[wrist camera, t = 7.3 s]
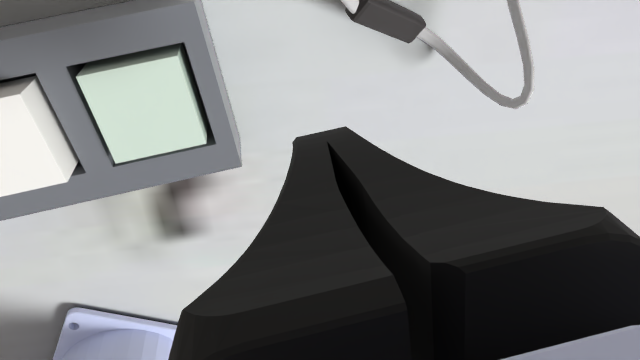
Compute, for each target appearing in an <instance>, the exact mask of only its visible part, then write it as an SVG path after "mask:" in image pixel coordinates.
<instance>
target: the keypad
mask: <svg viewBox="0 0 640 360" xmlns="http://www.w3.org/2000/svg"><path fill="white" fill-rule="evenodd" d="M177 43H182V44H183V48H184V51H185V54H186V57H187V60H188V63H189V66H190V70H191V73H192V76H193V79H194V82H195V85H196V88H197V92H198V95H199V98H200V101H201V104H202V107H203V110H204V114H205V117H206V120H207V123H208V127H207V142H206V144H203V145H198V146H193V147H189V148H184V149H180V150H175V151H171V152H166V153H162V154H157V155H153V156H148V157H144V158H139V159H135V160H130V161H126V162H121V163H115V161H114V159H113V157H112V155H111V152H110V150H109V148H108V146H107V144H106V142H105V139H104V137H103V135H102V133H101V131H100V129H99V126H98V124H97V122H96V120H95V118H94V115H93V113H92V111H91V109H90V107H89V105H88V102H87V100H86V98H85V96H84V94H83V92H82V89H81V87H80V85H79V83H78V81H77V78H76V76H77V75H78V73H79V72H80V71H81V70H82V68H83V67H84V66H85V65H86V63H87V62H90V61H95V60H100V59H105V58H110V57H114V56H119V55H124V54H129V53H134V52H139V51H143V50H148V49H153V48H158V47H163V46H168V45H172V44H177ZM33 76H37V77H38V79H39V81H40V83H41V85H42V87H43V89H44V91H45V93H46V95H47V97H48V99H49V101H50V103H51V105H52V107H53V108H54V110H55V112H56V114H57V116H58V118H59V120H60V122H61V124H62V126H63V128H64V130H65V132H66V134H67V136H68V138H69V140H70V142H71V144H72V146H73V148H74V150H75V152H76V154H77V156H78V158H79V161H78V163H77V165H76V167H75V169H74V171H73V173H72V174H71V176H70V178H69V180H68V182H66V183H61V184H57V185H52V186H48V187H43V188H39V189H34V190H30V191H25V192H21V193H16V194H11V195H7V196H2V197H0V221H2V220H6V219H11V218H15V217H20V216H24V215H29V214H33V213H37V212H42V211H46V210H51V209H55V208H60V207H64V206H69V205H73V204H77V203H82V202H86V201H91V200H95V199H100V198H104V197H109V196H113V195H117V194H122V193H126V192H131V191H135V190H140V189H144V188H149V187H153V186H157V185H162V184H166V183H171V182H175V181H180V180H184V179H189V178H193V177H197V176H202V175H206V174H211V173H215V172H220V171H224V170H229V169H233V168H237V167H242V160H241V145H240V136H239V132H238V129H237V125H236V122H235V118H234V115H233V111H232V108H231V104H230V100H229V97H228V93H227V90H226V86H225V83H224V79H223V76H222V72H221V69H220V65H219V61H218V58H217V54H216V51H215V47H214V44H213V40H212V37H211V33H210V29H209V26H208V22H207V19H206V15H205V12H204V8H203V5H202V1H201V0H133V1H128V2H123V3H118V4H113V5H108V6H103V7H98V8H93V9H88V10H83V11H78V12H73V13H68V14H63V15H58V16H53V17H48V18H43V19H38V20H33V21H28V22H23V23H18V24H13V25H8V26H3V27H0V83H4V82H9V81H13V80H18V79H23V78H28V77H33Z"/></svg>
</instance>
